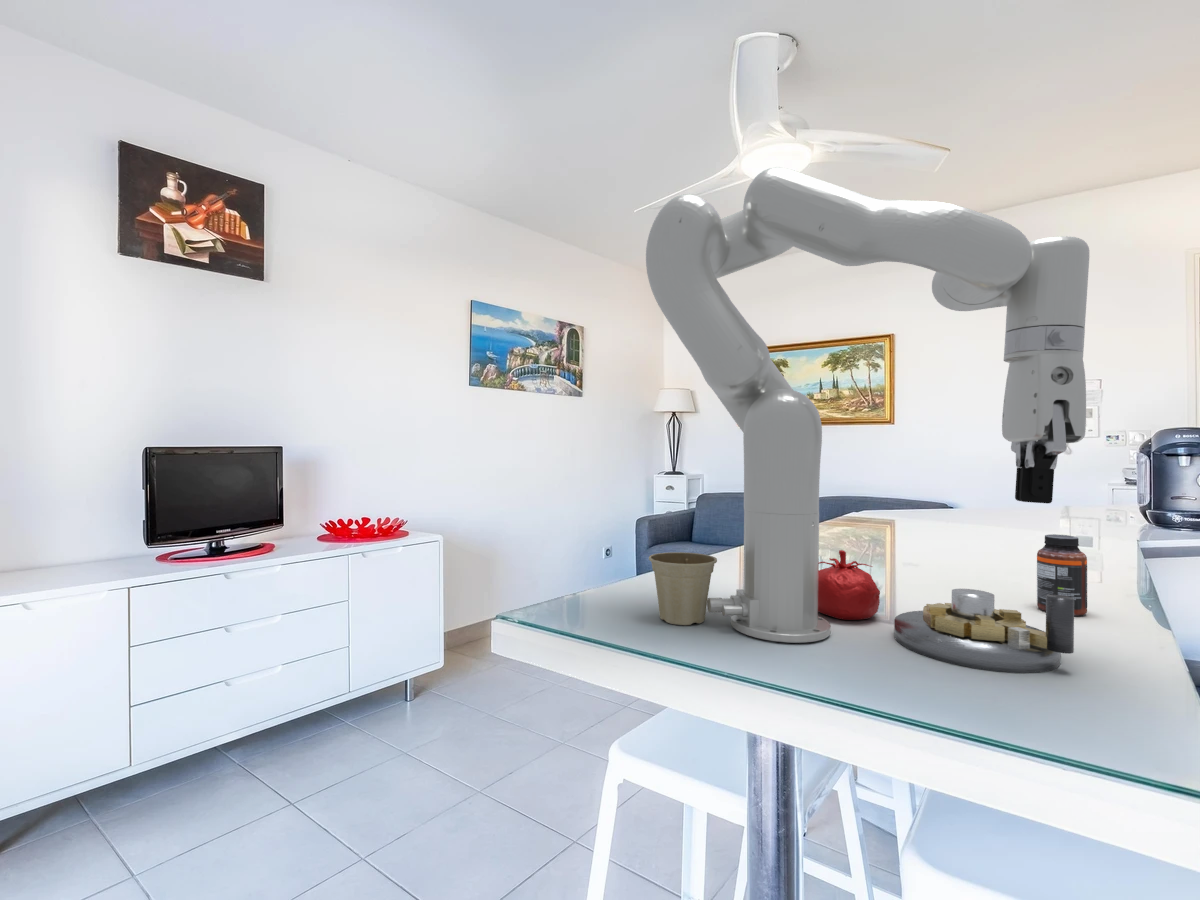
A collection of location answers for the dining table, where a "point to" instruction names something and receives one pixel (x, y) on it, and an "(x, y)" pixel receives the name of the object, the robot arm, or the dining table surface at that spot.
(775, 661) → the dining table surface
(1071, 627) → the gold segmented ring
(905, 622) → the dark oval platter
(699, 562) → the flower pot
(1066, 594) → the supplement bottle
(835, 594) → the pomegranate
